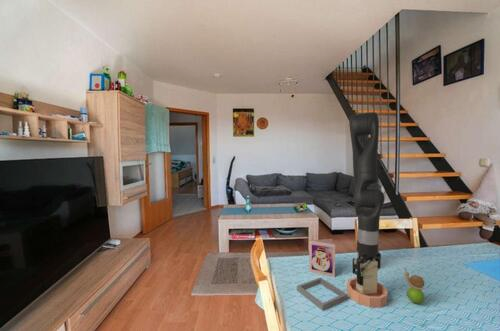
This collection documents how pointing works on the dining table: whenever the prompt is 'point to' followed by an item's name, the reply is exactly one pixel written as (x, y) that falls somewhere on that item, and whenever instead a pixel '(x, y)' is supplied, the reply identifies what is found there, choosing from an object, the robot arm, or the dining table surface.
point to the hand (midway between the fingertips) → (366, 281)
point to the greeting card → (322, 257)
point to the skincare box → (369, 278)
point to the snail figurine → (415, 288)
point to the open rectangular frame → (318, 303)
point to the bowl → (367, 295)
